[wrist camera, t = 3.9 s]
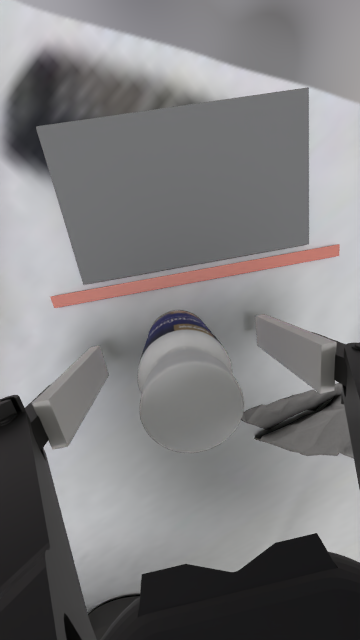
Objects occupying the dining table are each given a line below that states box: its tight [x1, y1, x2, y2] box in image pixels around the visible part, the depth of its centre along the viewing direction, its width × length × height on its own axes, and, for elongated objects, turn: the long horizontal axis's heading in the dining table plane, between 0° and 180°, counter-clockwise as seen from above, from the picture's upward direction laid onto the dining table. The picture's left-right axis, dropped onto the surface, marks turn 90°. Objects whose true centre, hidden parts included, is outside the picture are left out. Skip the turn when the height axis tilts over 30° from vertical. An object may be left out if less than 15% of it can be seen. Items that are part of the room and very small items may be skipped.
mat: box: [36, 87, 309, 285], centre depth 14 cm, size 20×11×1 cm, turn 100°
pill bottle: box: [138, 310, 244, 453], centre depth 13 cm, size 6×6×10 cm
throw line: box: [51, 244, 340, 308], centre depth 16 cm, size 26×1×1 cm, turn 100°
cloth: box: [241, 383, 354, 458], centre depth 21 cm, size 26×14×2 cm, turn 62°
